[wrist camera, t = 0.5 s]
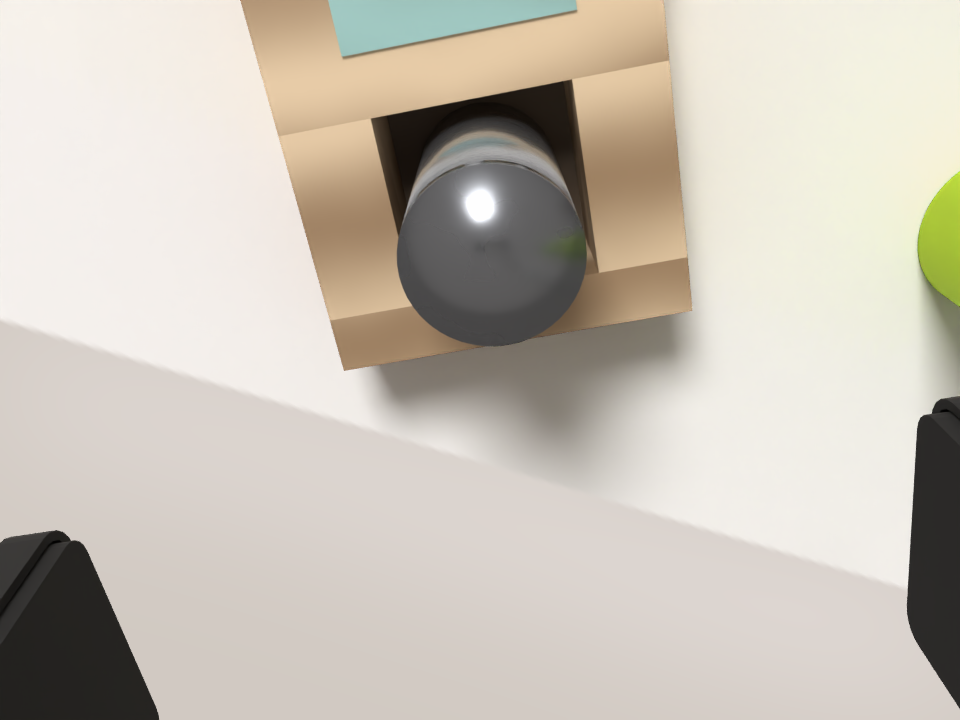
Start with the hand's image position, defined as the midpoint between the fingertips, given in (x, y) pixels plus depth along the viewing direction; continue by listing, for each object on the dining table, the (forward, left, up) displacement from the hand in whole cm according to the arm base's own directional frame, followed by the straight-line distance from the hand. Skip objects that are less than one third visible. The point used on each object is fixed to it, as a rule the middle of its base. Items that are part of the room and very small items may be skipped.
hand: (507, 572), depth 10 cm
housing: (+3, 0, -23) cm, 24 cm away
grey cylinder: (-1, 0, -23) cm, 23 cm away
